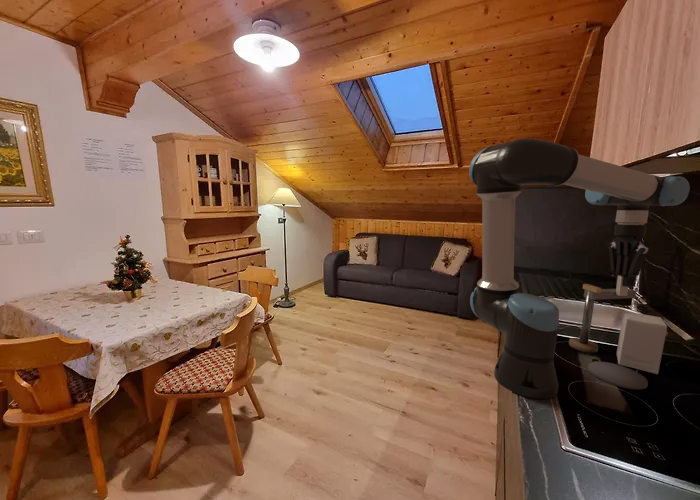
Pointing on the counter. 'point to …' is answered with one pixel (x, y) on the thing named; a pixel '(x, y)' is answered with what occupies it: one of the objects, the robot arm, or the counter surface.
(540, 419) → the counter surface
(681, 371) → the counter surface
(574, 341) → the disc
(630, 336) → the supplement box
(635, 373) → the coaster
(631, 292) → the swing latch
